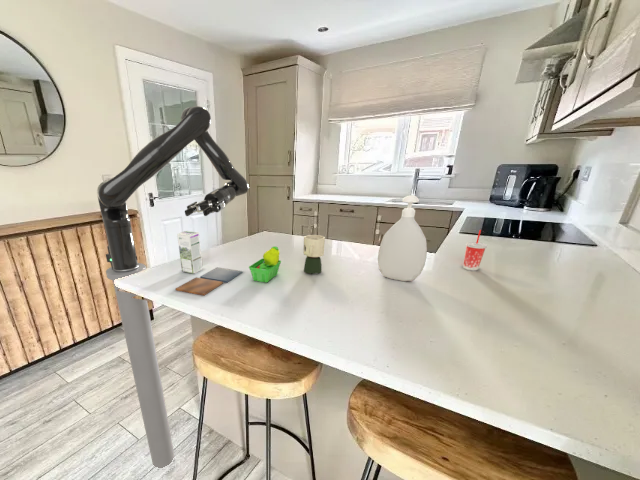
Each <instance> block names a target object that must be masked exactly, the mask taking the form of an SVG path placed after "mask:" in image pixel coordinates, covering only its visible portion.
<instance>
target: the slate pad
mask: <svg viewBox="0 0 640 480" xmlns="http://www.w3.org/2000/svg"><path fill="white" fill-rule="evenodd" d="M241 274H243V271H242V270H237V269H232V268H222V267H215V268H213V269H212V270H210V271H208V272H206V273H205V274H202V275H201V276H200V277H199V278H203V279H209V280H215V281H221V282H223V283H225V284H226V283H227V284H228V283H229V282H231V281H232V280H234V279H235V278H237V277H238V276H240V275H241Z"/></svg>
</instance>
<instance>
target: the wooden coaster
mask: <svg viewBox="0 0 640 480" xmlns="http://www.w3.org/2000/svg"><path fill="white" fill-rule="evenodd" d="M223 284H224V282H221V281H215V280H209V279H203V278H200V277H197V276H196V277H193V278H192V279H190V280H189V281H187V282H185V283H183V284H181V285H179V286H178V287H175V291H178V292H183V293H187V294H188V293H189V294H194V295H199V296H206V295H207V294H209V293H211V292H212V291H214V290H215V289H217V288H218V287H220V286H221V285H223Z"/></svg>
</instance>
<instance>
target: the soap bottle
mask: <svg viewBox="0 0 640 480" xmlns="http://www.w3.org/2000/svg"><path fill="white" fill-rule="evenodd" d="M401 202H402V203H407V206H406V207H404V208H403V209H402V211H401V217H400V219H399V220H397V221H396V222H395V223H394V224H393V225H392V226H391V227H390V228H389V229H388V230H387V231H386V232H385V233H384V235H383V237H382V239H381V242H380V244H379V248H378V252H377V253H378V254H377V264H378V269H379V271H380V273H381V275H382V276H383V277H384V278H386V279H391V280H395V281H401V282H412V281H415V280H416V279H417V278H418V277H419V276H420V275H421V274H422V272H423V270H424V268H425V266H426V261H427V257H428V256H427V255H428V254H427V253H428V246H427V238H426V235H425V234H424V232H423V230H422V227H421V226H420V224H419V223H418V222H417V221H416V218H415V215H416V209H415V207H413V203H420V199H419V198H418V197H417V195H415V194H414V195H413V194H409V195H406V196H404V197H403V198H402V199H401Z"/></svg>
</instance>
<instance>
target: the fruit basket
mask: <svg viewBox="0 0 640 480" xmlns="http://www.w3.org/2000/svg"><path fill="white" fill-rule="evenodd" d="M280 253H281V252H280V249H279V247H278V246H272V247H270V248H269V250H267V251H265V252H264V253H263V254H262V258H261V259H259V260H257V261H256V262H254V263H253V264H251V265H249V266H248V269H249V270H250V273H251V276H252V280H253V281H254V282H256V281H257V282H261V283H268V282H269V281H271V280H272V279H273V278H275V277H276V276H277V275H278V274H279V273H278V272H279V269H280V265H281V263H282V260H280Z"/></svg>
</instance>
